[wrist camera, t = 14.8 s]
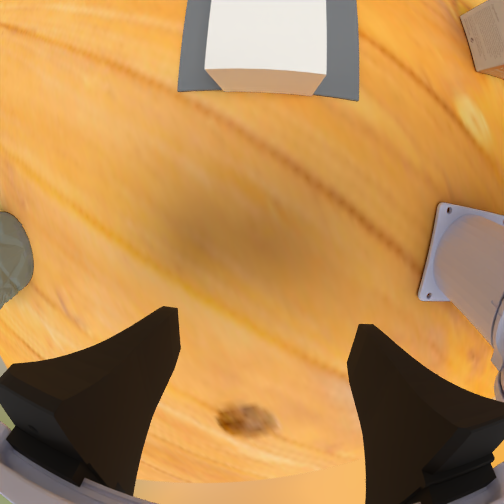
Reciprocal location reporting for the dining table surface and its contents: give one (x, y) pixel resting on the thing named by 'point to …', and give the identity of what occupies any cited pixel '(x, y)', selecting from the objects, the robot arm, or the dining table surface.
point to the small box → (486, 36)
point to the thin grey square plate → (338, 50)
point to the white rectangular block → (267, 45)
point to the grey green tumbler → (13, 257)
